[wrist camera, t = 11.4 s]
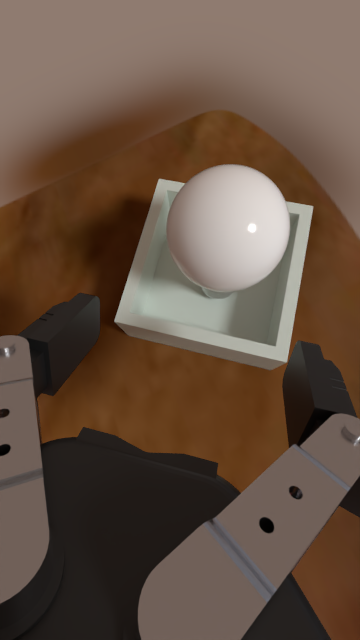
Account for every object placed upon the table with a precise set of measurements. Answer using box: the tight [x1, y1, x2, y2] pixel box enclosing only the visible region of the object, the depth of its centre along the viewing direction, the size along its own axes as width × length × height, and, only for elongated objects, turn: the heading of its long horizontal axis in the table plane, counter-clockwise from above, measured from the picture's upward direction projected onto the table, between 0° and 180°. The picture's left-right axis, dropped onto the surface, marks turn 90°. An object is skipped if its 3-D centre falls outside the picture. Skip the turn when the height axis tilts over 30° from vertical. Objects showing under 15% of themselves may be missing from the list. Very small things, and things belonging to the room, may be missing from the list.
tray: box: [114, 179, 313, 370], centre depth 23 cm, size 11×11×4 cm
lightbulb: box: [166, 164, 290, 299], centre depth 19 cm, size 6×6×11 cm
